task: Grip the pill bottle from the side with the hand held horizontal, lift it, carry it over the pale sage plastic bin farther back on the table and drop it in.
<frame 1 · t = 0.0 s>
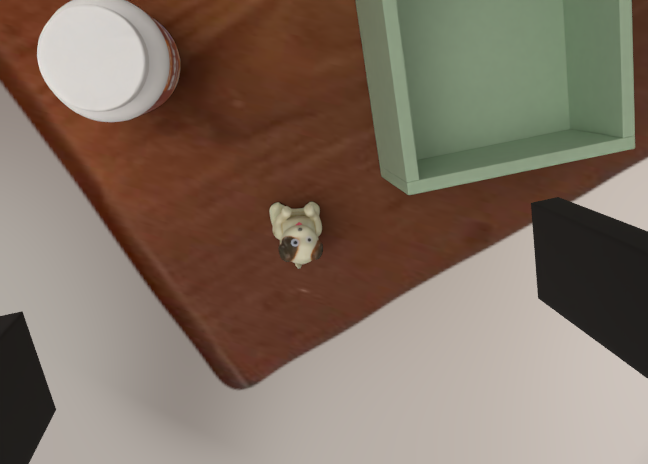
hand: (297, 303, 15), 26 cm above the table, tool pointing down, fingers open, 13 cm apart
pill bottle: (130, 62, 38), on the table
bin: (469, 50, 40), on the table
toy dog: (291, 227, 42), on the table
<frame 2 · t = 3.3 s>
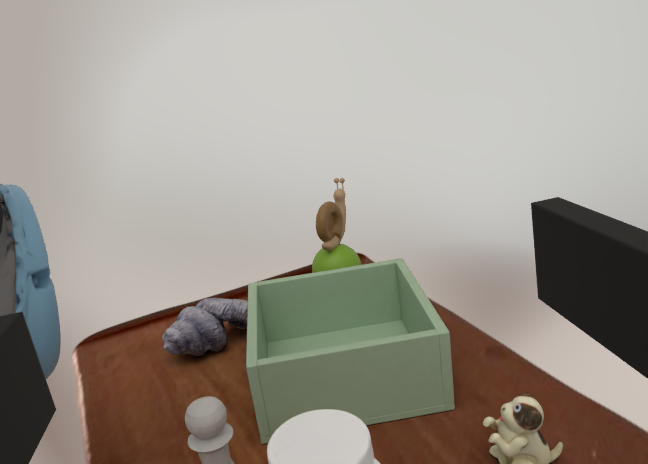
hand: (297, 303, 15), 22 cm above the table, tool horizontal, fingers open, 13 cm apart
bin: (345, 373, 51), on the table
snail figurine: (341, 290, 67), on the table
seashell: (214, 347, 59), on the table
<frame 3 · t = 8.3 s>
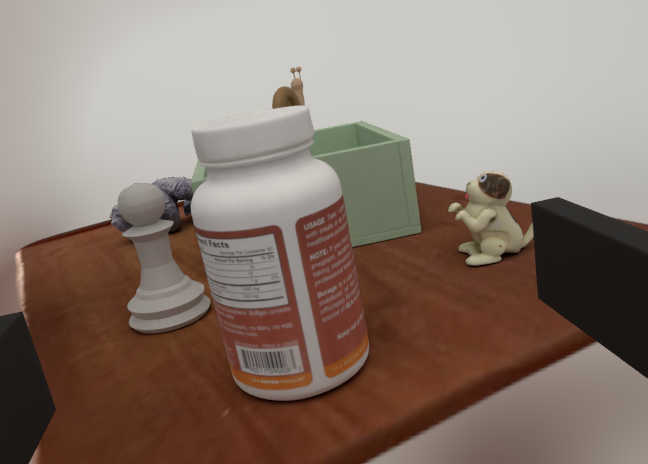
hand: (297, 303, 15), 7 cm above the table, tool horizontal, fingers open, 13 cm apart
pill bottle: (302, 370, 27), on the table
bin: (306, 227, 48), on the table
snail figurine: (304, 185, 64), on the table
chess piece: (172, 319, 35), on the table
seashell: (168, 232, 55), on the table
toy dog: (495, 257, 35), on the table
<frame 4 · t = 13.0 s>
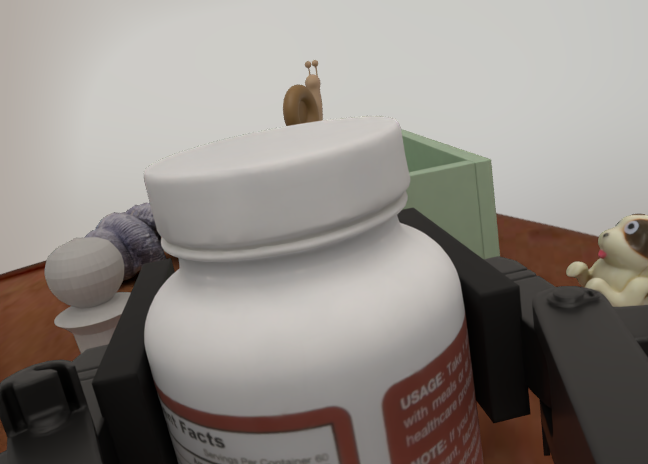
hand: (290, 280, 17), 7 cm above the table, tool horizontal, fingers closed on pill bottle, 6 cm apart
bin: (332, 275, 35), on the table
snail figurine: (322, 208, 52), on the table
chess piece: (138, 445, 22), on the table
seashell: (149, 273, 42), on the table
toy dog: (640, 347, 23), on the table
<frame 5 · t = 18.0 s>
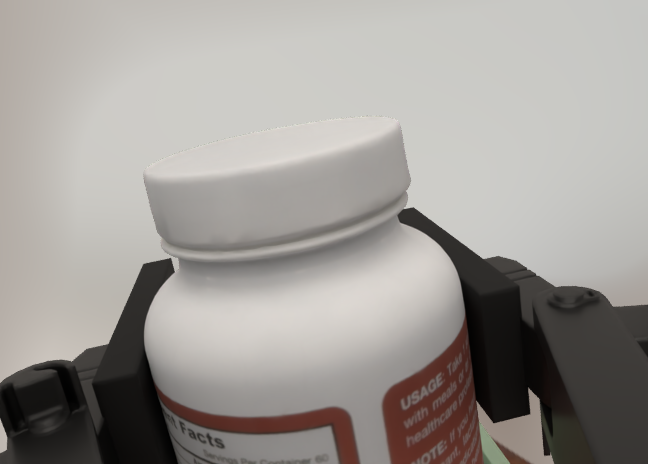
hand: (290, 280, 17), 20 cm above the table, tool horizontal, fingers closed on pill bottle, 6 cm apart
when the fingers open (8 cm above the table, at t = 23.3 s): pill bottle stays where it is, resting on bin.
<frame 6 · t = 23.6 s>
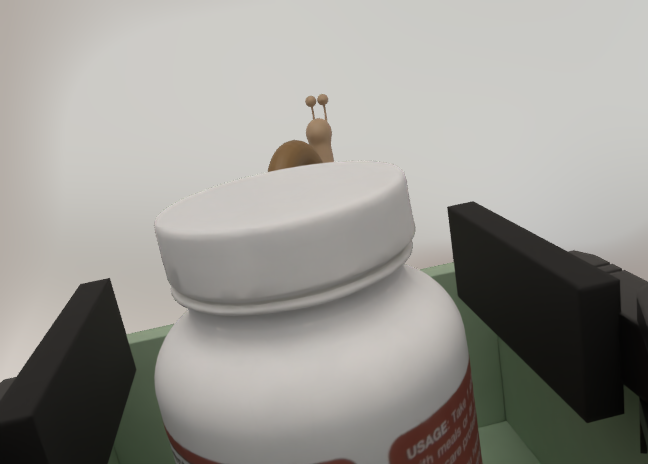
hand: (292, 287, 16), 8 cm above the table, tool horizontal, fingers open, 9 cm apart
snail figurine: (335, 341, 31), on the table
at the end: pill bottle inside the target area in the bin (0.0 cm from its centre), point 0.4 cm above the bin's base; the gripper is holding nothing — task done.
